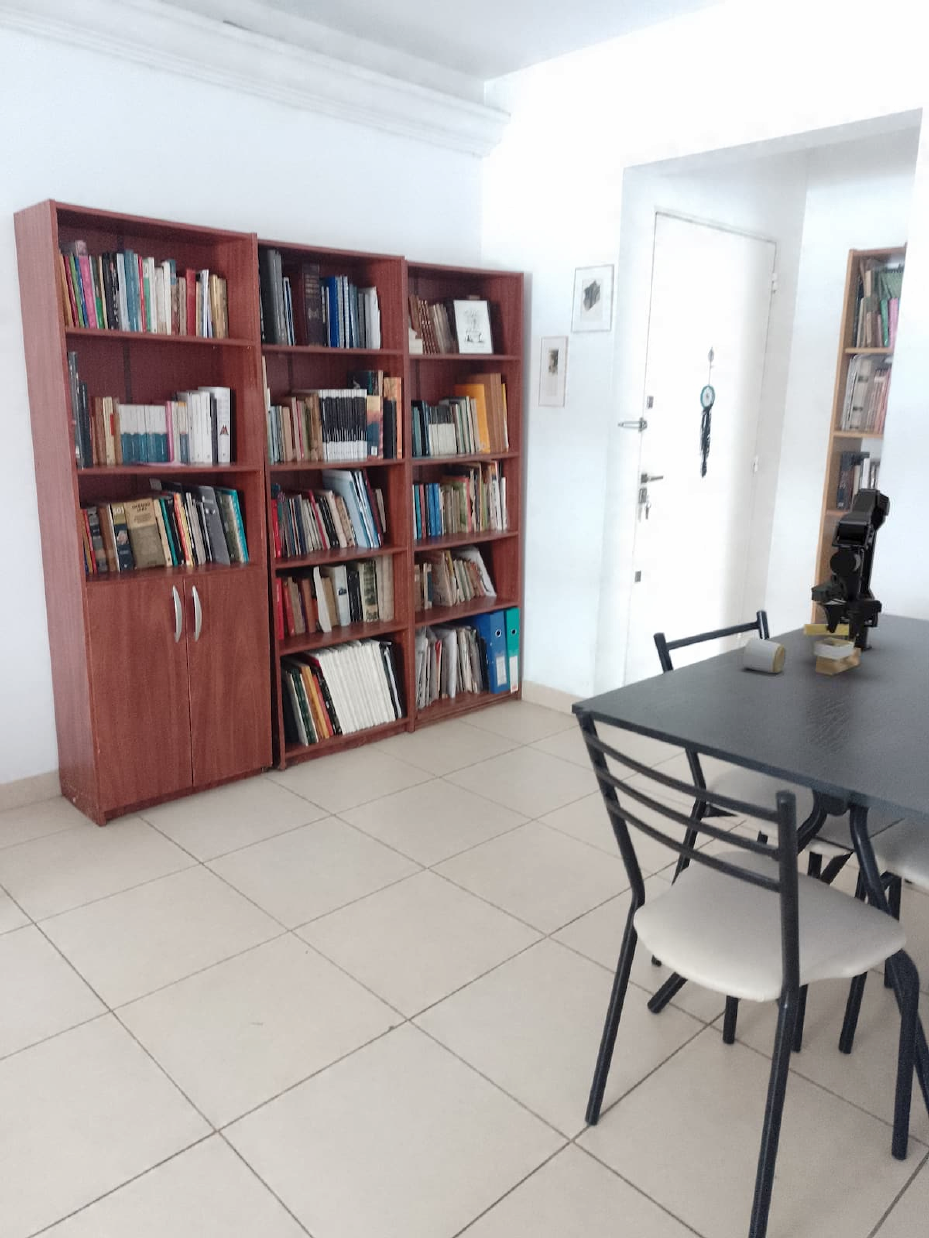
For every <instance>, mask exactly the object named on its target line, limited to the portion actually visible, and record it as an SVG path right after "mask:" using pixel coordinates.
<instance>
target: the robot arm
mask: <svg viewBox="0 0 929 1238" xmlns="http://www.w3.org/2000/svg"><path fill="white" fill-rule="evenodd" d="M851 504H852V505H851V510H850V512H848V513H845V514H843V515H842V516H841V517H840V519H839V521H837V522H836V525H835V527H834V528H835V529H834V532H833V537H832V542H831V547H833V548H837V551H836V552H834V553H833V554H832V555H831V557H830V559H829V567H830V569H831V571H832V572H833V573H834V574H833V573H832V574H831V575H830V577H829V581H826V582H823V583H820V584H817V585H815V586H813V587H811V590H810V591H811V599H810V600H811V601H813V602H816V605H817V606H819V607H820V608H821V609H822V610H823V611H824V614H825V617H826V621H827V624H828V627H829V631H830V633H835V631H836V628H837V626H838V624H849V639H854V638H855V637H856V640H855V647H856V648H861V652H862V651H865V650H868V649H871V648H872V645H871V644H868V640H869V639H868V637H869V631H870V628H871V629H874V628H878V625H879V614H880V613H882V609H883V604H882V602H881V601H880V600H879V599H876V598H875V597H876V596H874V593H873V590H872V589H871V582H872V580H871V579H872V575H873V567H874V566H873V565H874V560H875V551H876V545H877V544H876V543H877V538H878V537H877V535H878V532H879V530H880V529H881V528H882V527H883V525H884V524H885V522H886V517H889V514H890V510H891V501H890V498H889V496H888V495H885V494H883V493H882V492H881V490H880V489H877V488H869V487H866V488H865V487H861V488H858V489H857V492H856V493H855V494H854V495H853V497H852V503H851ZM857 634H858V636H856V635H857ZM843 640H846V641H847V635H843Z"/></svg>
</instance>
